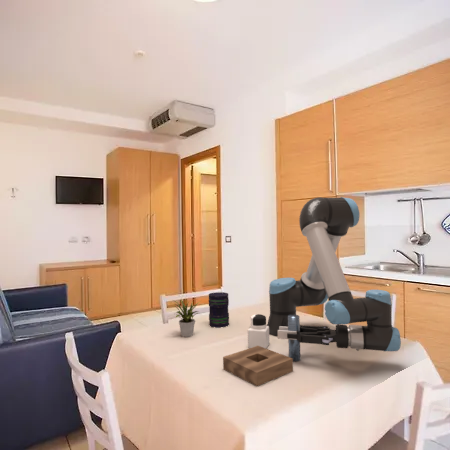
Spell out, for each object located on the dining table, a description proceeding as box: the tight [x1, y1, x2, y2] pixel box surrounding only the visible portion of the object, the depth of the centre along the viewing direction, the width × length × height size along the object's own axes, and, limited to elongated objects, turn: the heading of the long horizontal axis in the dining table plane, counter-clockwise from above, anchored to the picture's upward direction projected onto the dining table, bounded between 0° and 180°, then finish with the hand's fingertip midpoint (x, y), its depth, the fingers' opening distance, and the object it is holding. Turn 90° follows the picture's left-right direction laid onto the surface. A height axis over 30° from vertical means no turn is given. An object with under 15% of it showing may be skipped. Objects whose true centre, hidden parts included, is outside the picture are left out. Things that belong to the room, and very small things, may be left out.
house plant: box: [172, 299, 202, 338], centre depth 146 cm, size 14×14×16 cm
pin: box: [287, 314, 301, 362], centre depth 116 cm, size 4×4×15 cm
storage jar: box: [208, 291, 230, 329], centre depth 160 cm, size 10×10×15 cm
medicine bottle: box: [247, 313, 270, 349], centre depth 130 cm, size 7×7×12 cm
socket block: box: [222, 346, 294, 387], centre depth 107 cm, size 16×16×4 cm
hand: (278, 332), depth 117 cm, fingers closed on pin, 4 cm apart
